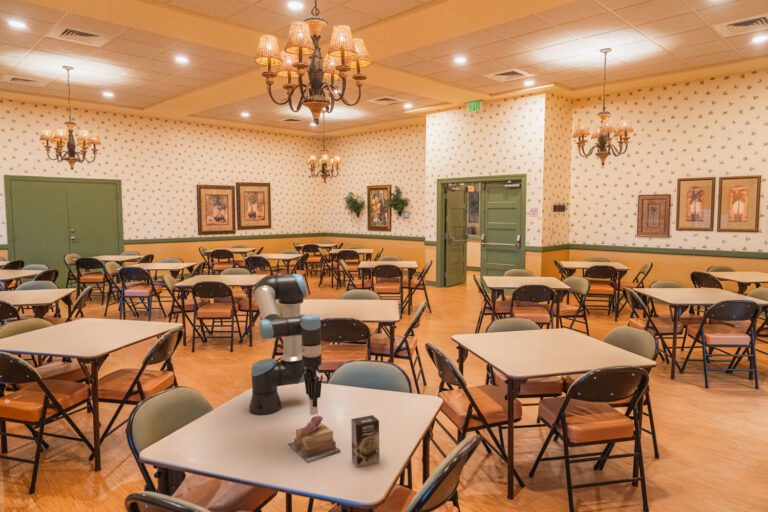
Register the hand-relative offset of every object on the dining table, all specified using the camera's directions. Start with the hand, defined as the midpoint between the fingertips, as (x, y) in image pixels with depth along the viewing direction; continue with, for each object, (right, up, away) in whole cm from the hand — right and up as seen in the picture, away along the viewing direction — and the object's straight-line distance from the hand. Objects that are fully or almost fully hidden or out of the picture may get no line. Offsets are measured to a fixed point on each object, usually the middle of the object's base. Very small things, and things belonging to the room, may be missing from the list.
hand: (313, 413), depth 193 cm
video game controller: (-1, -7, 0) cm, 7 cm away
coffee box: (+21, -15, -9) cm, 27 cm away
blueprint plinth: (0, -14, +2) cm, 15 cm away
